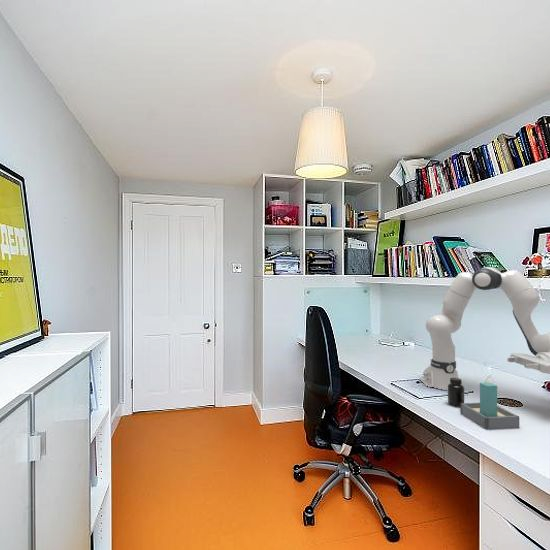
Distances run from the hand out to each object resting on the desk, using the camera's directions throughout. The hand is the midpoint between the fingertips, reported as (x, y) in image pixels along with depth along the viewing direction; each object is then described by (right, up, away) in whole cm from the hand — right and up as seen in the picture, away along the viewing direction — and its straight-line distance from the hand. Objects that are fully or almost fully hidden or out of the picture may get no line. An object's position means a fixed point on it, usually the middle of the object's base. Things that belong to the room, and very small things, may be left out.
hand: (516, 362), depth 153 cm
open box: (-16, -22, -7) cm, 28 cm away
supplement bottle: (-21, -22, +11) cm, 32 cm away
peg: (-16, -22, -7) cm, 28 cm away
